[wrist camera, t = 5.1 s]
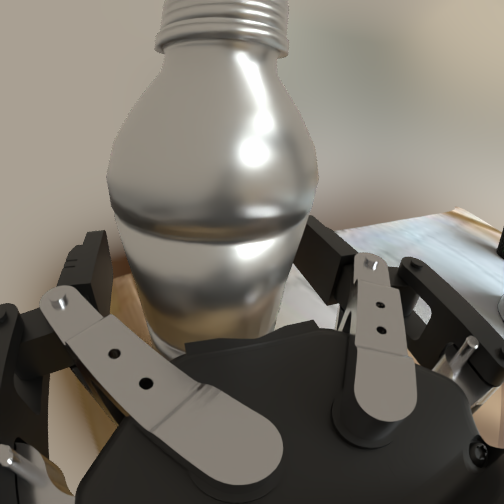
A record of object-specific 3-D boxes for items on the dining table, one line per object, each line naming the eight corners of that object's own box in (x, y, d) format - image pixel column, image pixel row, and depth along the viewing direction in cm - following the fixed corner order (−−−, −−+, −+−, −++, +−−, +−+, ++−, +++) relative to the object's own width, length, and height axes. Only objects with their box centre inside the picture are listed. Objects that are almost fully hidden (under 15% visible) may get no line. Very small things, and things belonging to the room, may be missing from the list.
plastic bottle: (275, 383, 18) (336, 34, 8) (251, 471, 12) (348, -48, 2) (186, 360, 19) (180, 29, 9) (146, 437, 14) (63, -4, 3)
